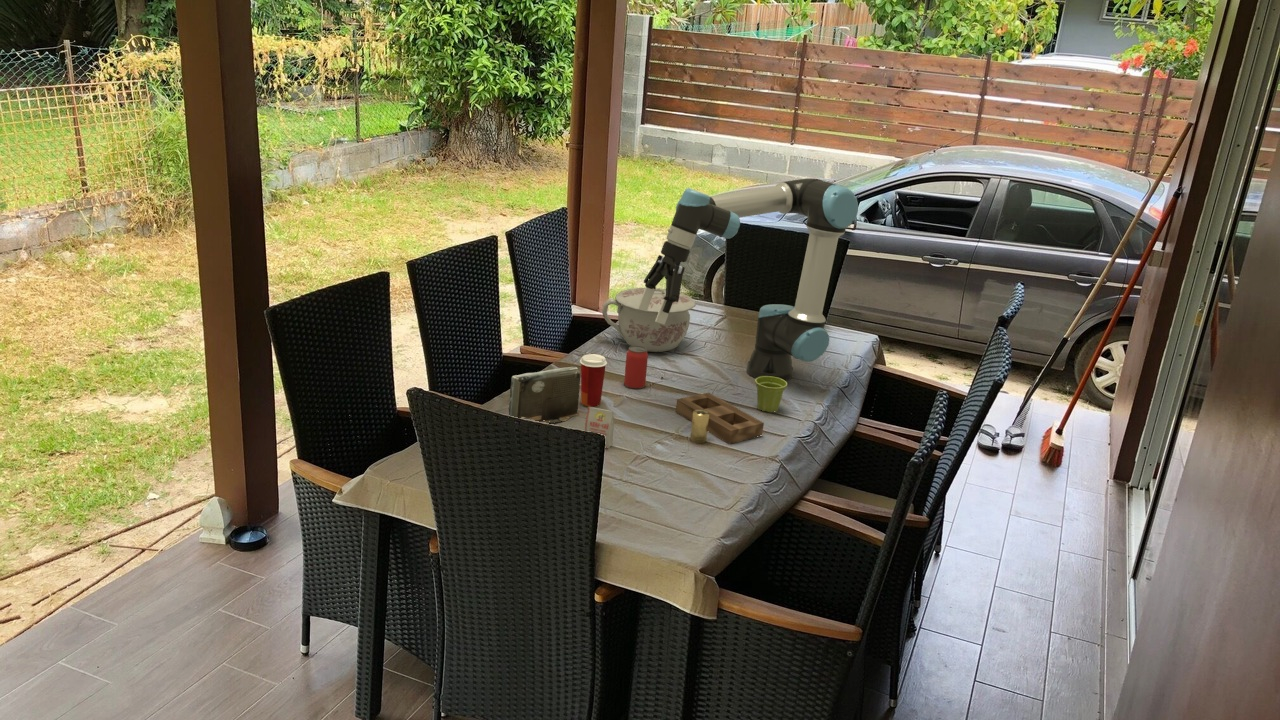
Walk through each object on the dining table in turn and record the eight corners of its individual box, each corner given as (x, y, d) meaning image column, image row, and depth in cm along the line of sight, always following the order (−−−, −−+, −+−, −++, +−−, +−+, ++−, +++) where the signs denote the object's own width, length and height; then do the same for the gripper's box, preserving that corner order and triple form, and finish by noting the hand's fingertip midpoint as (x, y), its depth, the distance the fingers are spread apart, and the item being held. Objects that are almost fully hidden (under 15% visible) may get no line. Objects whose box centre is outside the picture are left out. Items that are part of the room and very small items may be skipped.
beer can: (642, 390, 294) (646, 353, 290) (621, 387, 295) (624, 350, 291) (647, 383, 300) (650, 346, 296) (626, 380, 301) (629, 343, 297)
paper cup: (607, 401, 284) (611, 356, 279) (598, 410, 277) (601, 364, 273) (583, 396, 286) (585, 351, 282) (572, 404, 280) (575, 359, 275)
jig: (707, 405, 288) (708, 392, 286) (762, 436, 270) (763, 422, 268) (675, 411, 281) (676, 399, 279) (729, 444, 263) (730, 430, 261)
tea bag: (588, 438, 259) (590, 404, 256) (612, 443, 257) (615, 408, 254) (583, 444, 256) (586, 409, 252) (608, 448, 254) (610, 414, 251)
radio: (573, 406, 279) (576, 358, 273) (590, 418, 272) (593, 368, 267) (501, 421, 265) (503, 370, 260) (517, 433, 259) (519, 381, 254)
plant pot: (763, 416, 283) (767, 389, 280) (745, 404, 290) (749, 377, 287) (789, 413, 287) (793, 385, 284) (771, 401, 295) (775, 374, 292)
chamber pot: (705, 345, 338) (711, 288, 331) (664, 366, 316) (670, 305, 309) (638, 327, 351) (642, 272, 344) (594, 345, 329) (598, 286, 322)
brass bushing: (699, 435, 267) (702, 408, 264) (709, 441, 263) (712, 414, 261) (686, 438, 264) (689, 411, 261) (696, 444, 261) (700, 417, 258)
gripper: (649, 232, 276) (623, 301, 280) (684, 249, 254) (655, 324, 258) (672, 239, 279) (646, 308, 283) (708, 258, 257) (679, 332, 261)
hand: (650, 316), depth 270 cm, fingers open, 13 cm apart
